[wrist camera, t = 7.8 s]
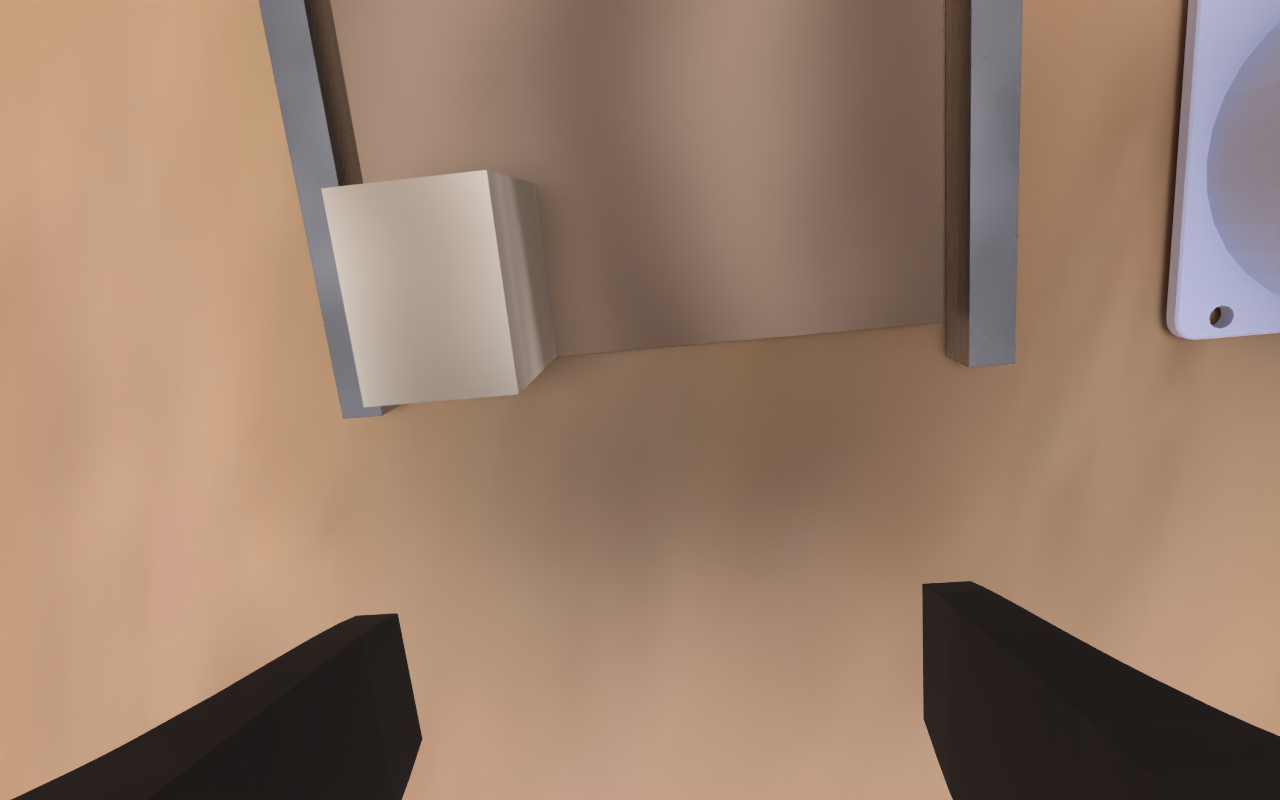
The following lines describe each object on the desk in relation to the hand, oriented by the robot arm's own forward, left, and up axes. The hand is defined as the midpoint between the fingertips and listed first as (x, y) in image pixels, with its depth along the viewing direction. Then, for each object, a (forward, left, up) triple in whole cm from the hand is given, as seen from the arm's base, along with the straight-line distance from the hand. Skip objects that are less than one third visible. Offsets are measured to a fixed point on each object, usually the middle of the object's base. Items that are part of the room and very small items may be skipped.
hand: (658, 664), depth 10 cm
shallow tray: (0, -11, -9) cm, 14 cm away
